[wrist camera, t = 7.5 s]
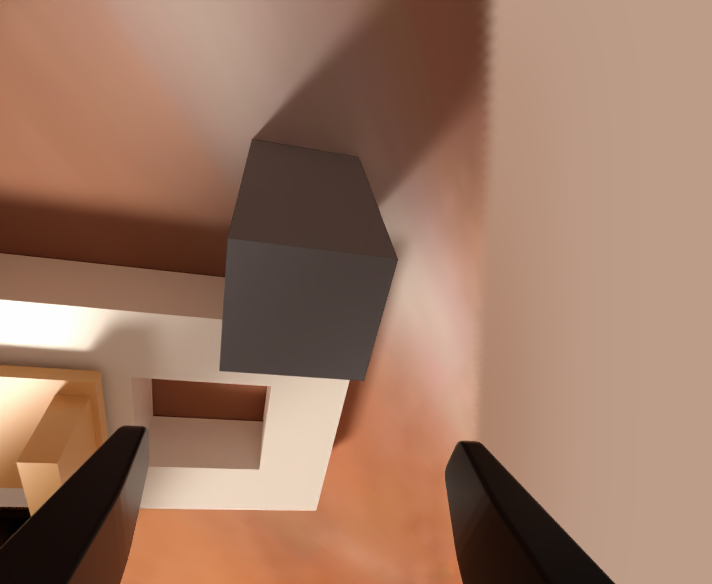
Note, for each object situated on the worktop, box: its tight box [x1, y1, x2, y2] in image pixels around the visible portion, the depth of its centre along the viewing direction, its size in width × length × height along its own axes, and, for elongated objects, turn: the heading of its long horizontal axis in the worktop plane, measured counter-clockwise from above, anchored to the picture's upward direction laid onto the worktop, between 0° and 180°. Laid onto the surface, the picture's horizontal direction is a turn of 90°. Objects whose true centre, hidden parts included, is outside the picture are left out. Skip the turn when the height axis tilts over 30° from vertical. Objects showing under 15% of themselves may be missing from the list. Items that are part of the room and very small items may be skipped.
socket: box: [0, 253, 350, 511], centre depth 21 cm, size 12×18×3 cm, turn 79°
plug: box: [219, 139, 398, 381], centre depth 15 cm, size 4×4×8 cm
